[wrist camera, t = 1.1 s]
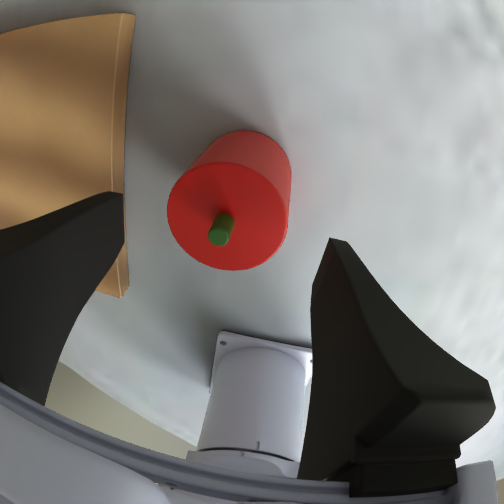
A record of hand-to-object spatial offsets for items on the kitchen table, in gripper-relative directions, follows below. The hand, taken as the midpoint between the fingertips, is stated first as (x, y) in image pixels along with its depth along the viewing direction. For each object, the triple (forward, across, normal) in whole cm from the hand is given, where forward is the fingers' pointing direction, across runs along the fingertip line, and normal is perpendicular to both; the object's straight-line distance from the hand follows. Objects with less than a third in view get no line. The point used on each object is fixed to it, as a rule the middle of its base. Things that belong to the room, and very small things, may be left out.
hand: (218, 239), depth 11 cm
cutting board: (+7, +14, +1) cm, 16 cm away
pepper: (+7, 0, 0) cm, 7 cm away
